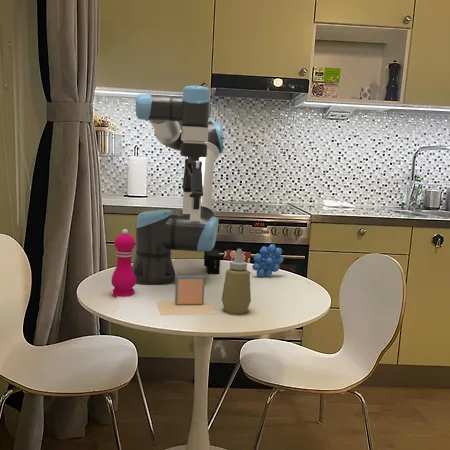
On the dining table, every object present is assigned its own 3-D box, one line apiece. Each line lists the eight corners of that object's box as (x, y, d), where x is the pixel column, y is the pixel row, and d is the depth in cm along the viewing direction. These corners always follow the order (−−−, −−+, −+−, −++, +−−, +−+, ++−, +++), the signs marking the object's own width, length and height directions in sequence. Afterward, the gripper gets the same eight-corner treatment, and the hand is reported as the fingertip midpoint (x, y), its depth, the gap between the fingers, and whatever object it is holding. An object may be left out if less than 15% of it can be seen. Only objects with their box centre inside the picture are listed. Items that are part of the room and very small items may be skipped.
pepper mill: (114, 299, 148) (116, 231, 145) (108, 293, 154) (109, 227, 151) (138, 297, 151) (141, 230, 148) (131, 291, 157) (133, 226, 154)
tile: (174, 303, 146) (175, 275, 145) (202, 302, 148) (203, 275, 146) (175, 305, 144) (176, 277, 142) (203, 305, 145) (204, 277, 144)
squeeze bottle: (228, 318, 137) (231, 252, 134) (216, 309, 144) (219, 246, 141) (255, 316, 140) (259, 251, 137) (242, 307, 147) (246, 245, 145)
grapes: (277, 273, 190) (279, 241, 188) (284, 278, 183) (287, 245, 182) (247, 274, 186) (249, 241, 184) (254, 279, 180) (256, 245, 178)
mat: (156, 303, 147) (156, 301, 147) (207, 302, 150) (207, 300, 150) (160, 317, 135) (160, 314, 135) (215, 316, 138) (215, 313, 138)
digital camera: (203, 267, 193) (203, 249, 192) (217, 267, 194) (218, 249, 193) (204, 274, 183) (205, 255, 182) (219, 274, 184) (220, 255, 183)
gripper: (174, 141, 156) (172, 210, 159) (188, 142, 132) (184, 224, 135) (199, 142, 157) (195, 211, 161) (216, 144, 134) (212, 224, 137)
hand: (190, 217), depth 148 cm, fingers open, 13 cm apart
